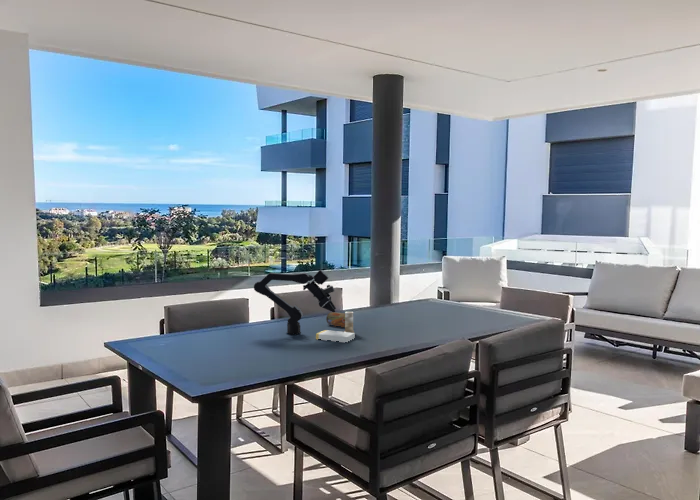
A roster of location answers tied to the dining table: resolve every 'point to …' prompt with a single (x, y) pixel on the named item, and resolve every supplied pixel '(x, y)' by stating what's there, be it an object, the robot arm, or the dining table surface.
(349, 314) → the beige tall block
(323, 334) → the dock
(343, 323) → the tin
